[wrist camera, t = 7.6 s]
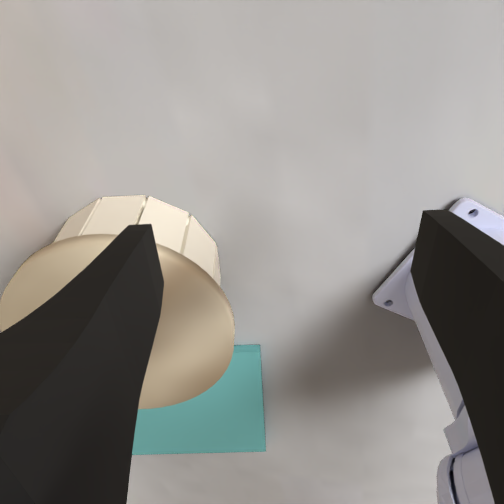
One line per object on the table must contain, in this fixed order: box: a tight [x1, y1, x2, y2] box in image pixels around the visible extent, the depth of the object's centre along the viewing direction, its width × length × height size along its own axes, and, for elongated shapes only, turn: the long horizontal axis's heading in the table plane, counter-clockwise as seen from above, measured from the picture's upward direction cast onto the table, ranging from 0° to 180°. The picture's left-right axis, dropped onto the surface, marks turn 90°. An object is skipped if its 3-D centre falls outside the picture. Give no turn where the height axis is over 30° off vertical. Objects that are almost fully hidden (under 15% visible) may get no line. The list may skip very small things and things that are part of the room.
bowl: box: [53, 195, 221, 286], centre depth 24 cm, size 9×9×4 cm
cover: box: [0, 234, 235, 409], centre depth 20 cm, size 11×11×5 cm
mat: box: [132, 345, 266, 455], centre depth 33 cm, size 12×12×1 cm
